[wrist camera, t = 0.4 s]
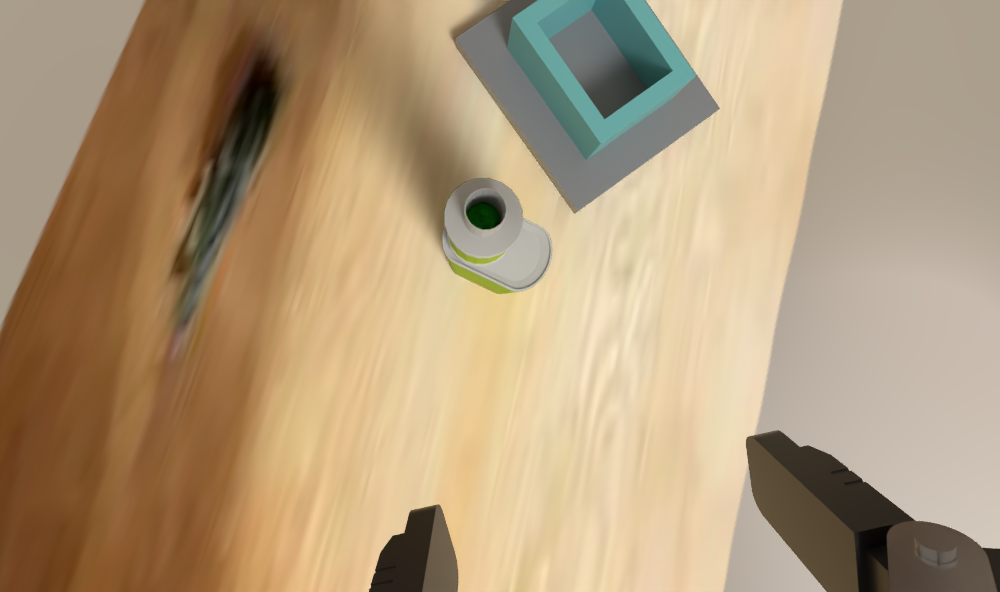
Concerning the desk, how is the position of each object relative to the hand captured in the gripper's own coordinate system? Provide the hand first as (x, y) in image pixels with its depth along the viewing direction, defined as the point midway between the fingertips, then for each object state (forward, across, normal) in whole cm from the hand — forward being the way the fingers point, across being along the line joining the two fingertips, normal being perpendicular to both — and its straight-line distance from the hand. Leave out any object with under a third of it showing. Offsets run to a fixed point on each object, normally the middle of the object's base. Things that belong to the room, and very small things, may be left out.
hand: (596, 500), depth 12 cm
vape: (+27, +2, -3) cm, 27 cm away
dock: (+30, -9, -15) cm, 35 cm away
